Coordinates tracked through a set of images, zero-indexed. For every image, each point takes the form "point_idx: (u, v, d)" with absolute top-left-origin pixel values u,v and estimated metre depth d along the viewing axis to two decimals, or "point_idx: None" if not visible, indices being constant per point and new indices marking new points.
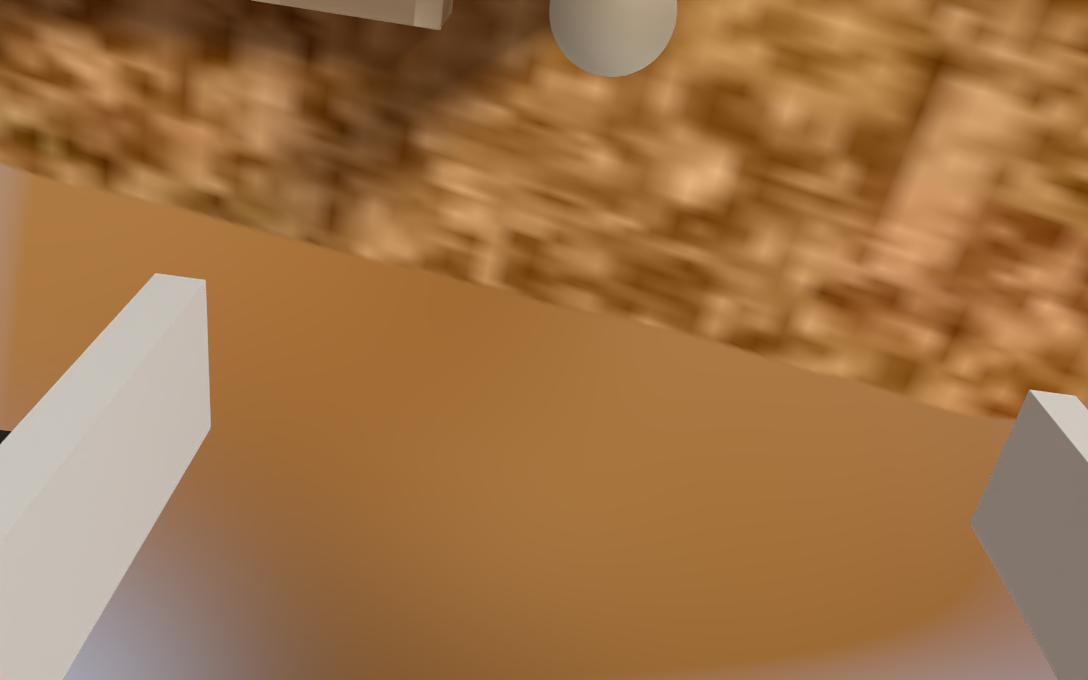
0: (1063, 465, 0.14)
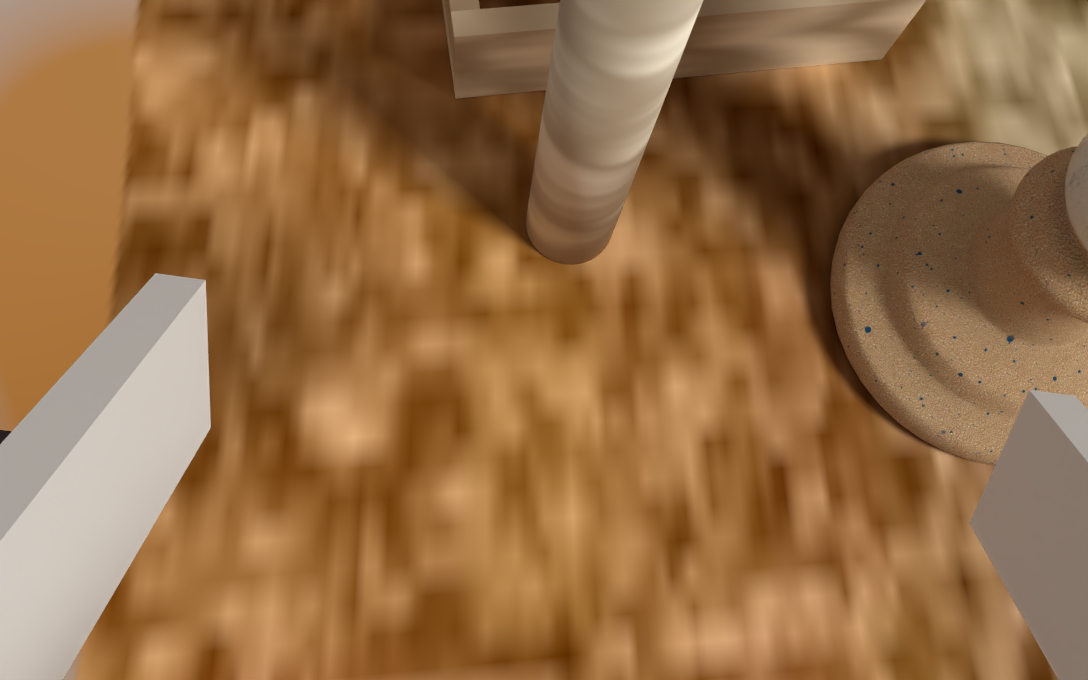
0: (1063, 465, 0.14)
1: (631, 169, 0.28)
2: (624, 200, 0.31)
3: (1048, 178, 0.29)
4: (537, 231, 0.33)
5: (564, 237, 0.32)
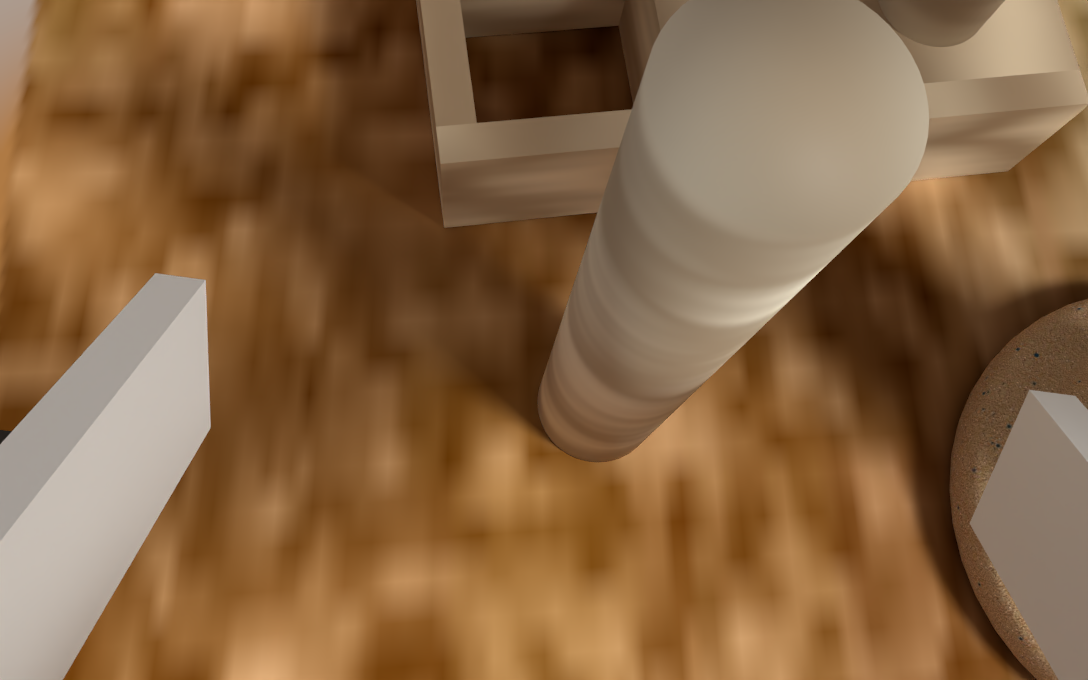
0: (1062, 465, 0.14)
1: None
2: None
3: None
4: (553, 426, 0.24)
5: (592, 444, 0.23)
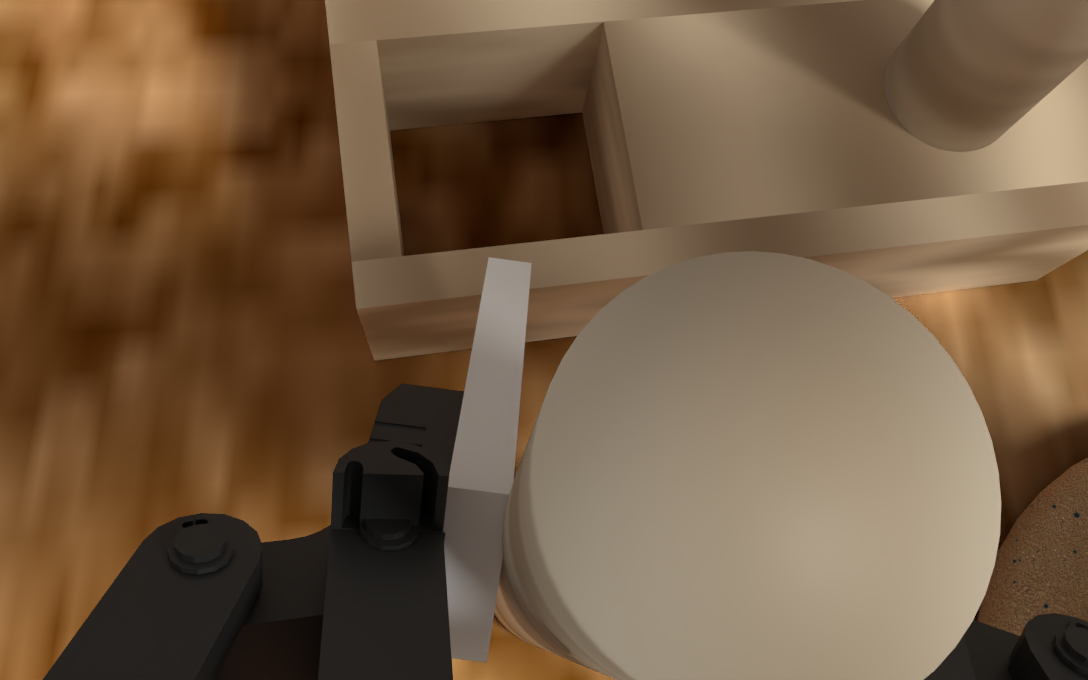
0: None
1: None
2: None
3: None
4: (499, 617, 0.20)
5: None
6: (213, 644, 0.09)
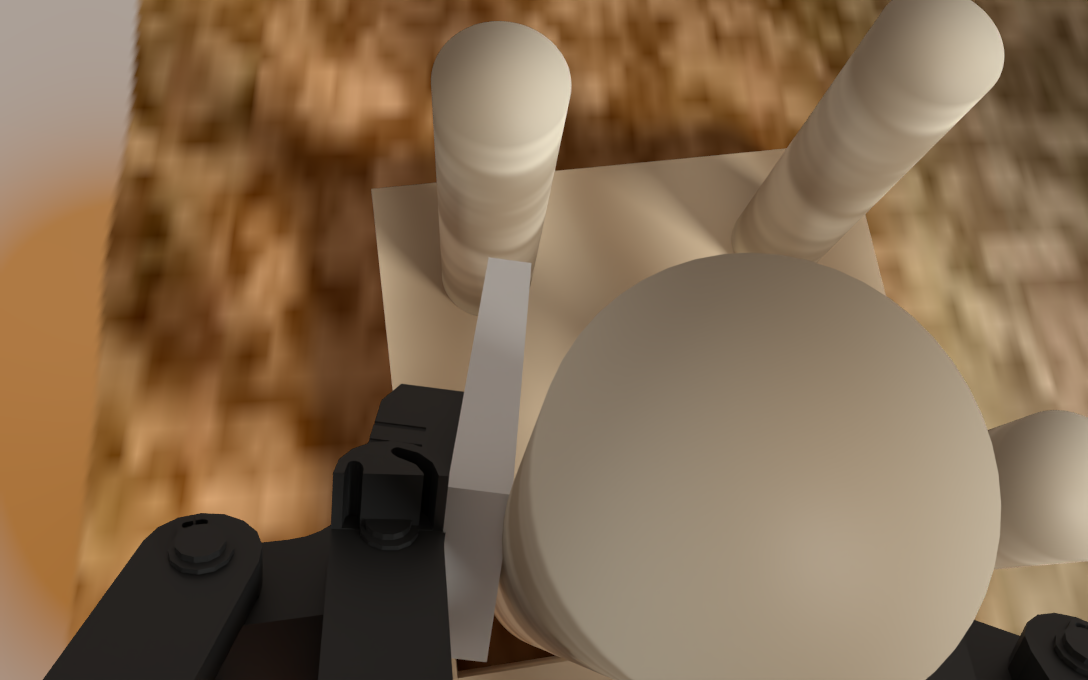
0: None
1: None
2: None
3: None
4: (499, 618, 0.20)
5: None
6: (213, 644, 0.09)
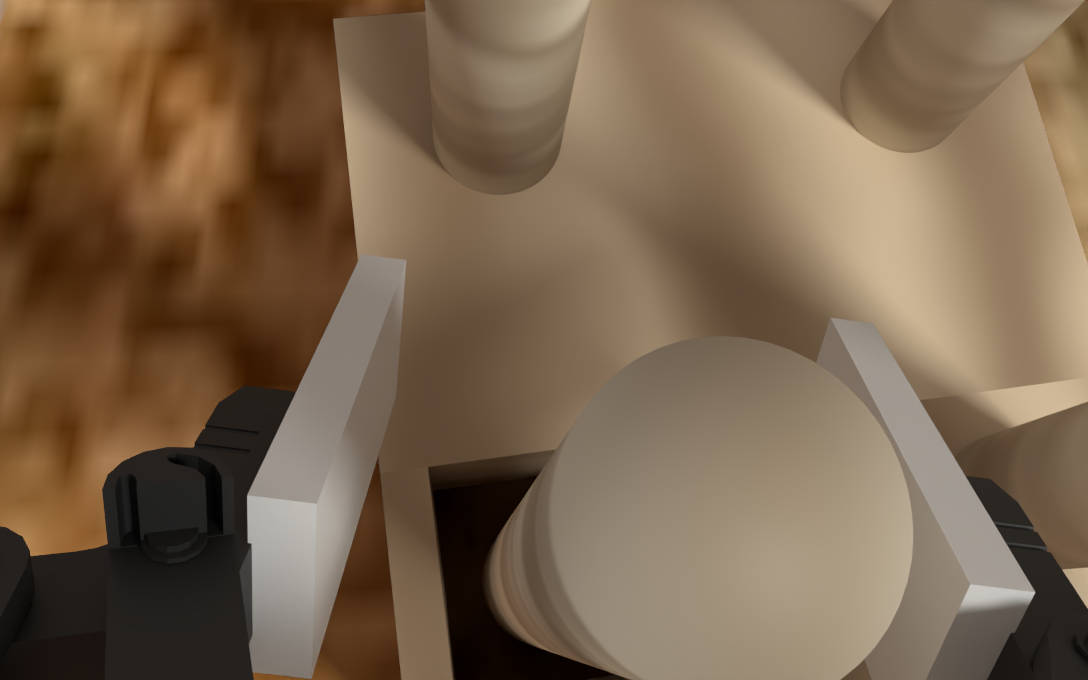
0: (846, 381, 0.15)
1: None
2: None
3: None
4: (497, 619, 0.22)
5: None
6: None
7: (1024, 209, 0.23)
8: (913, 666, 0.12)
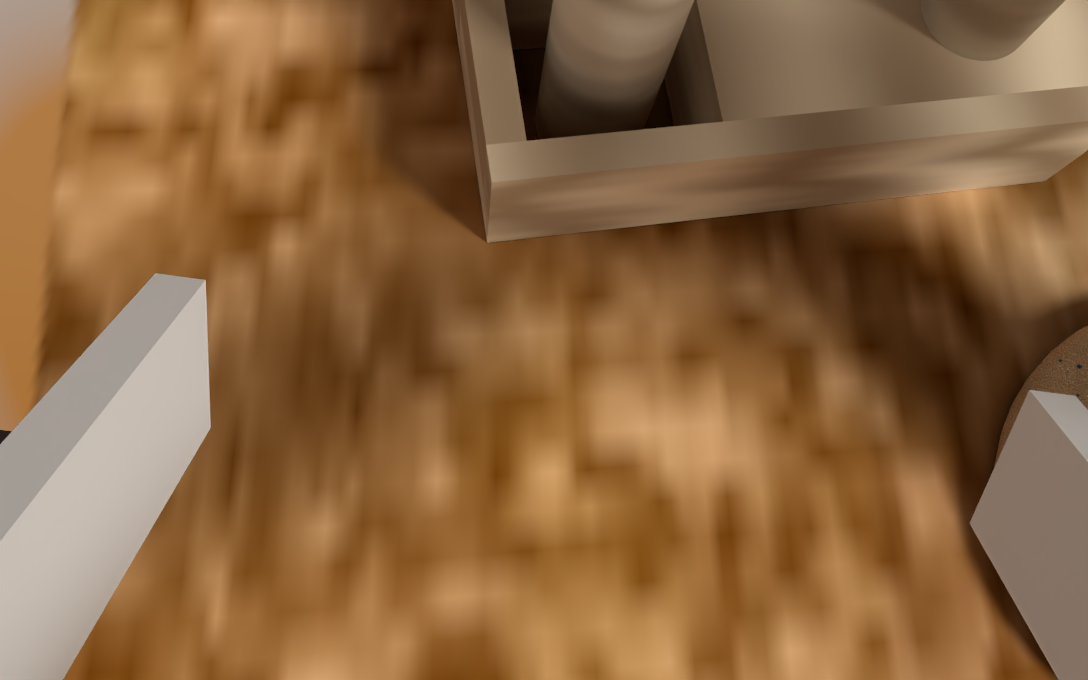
0: (1063, 465, 0.14)
1: (679, 19, 0.21)
2: (663, 76, 0.24)
3: None
4: (550, 124, 0.27)
5: (586, 127, 0.25)
6: None
7: None
8: None
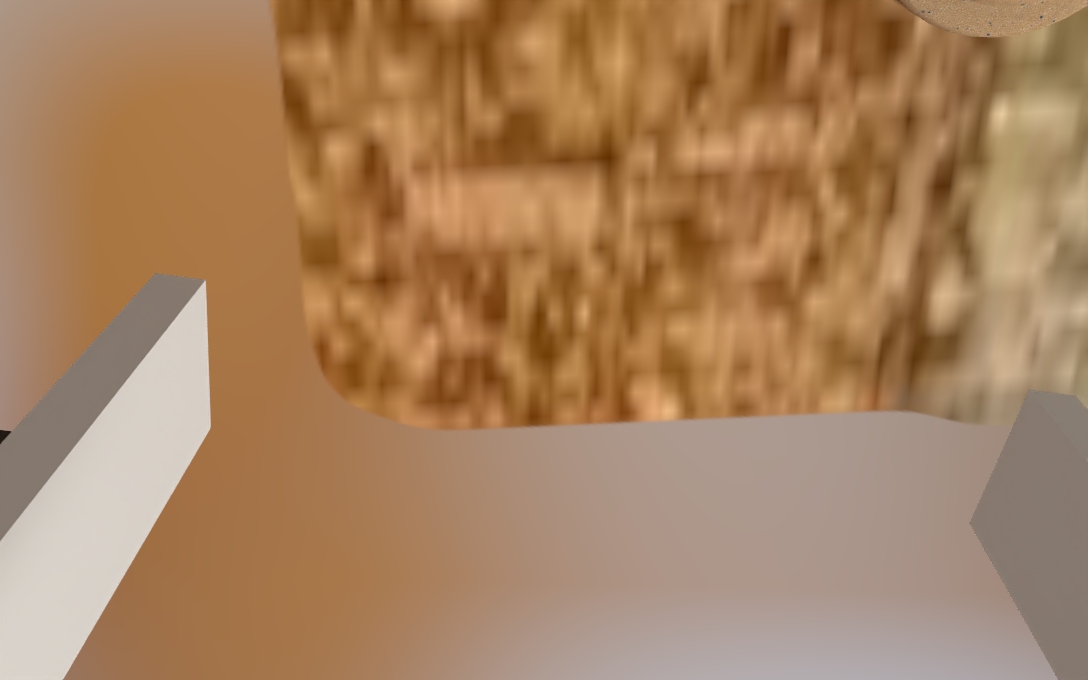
0: (1063, 465, 0.14)
1: None
2: None
3: None
4: None
5: None
6: None
7: None
8: None
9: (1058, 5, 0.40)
